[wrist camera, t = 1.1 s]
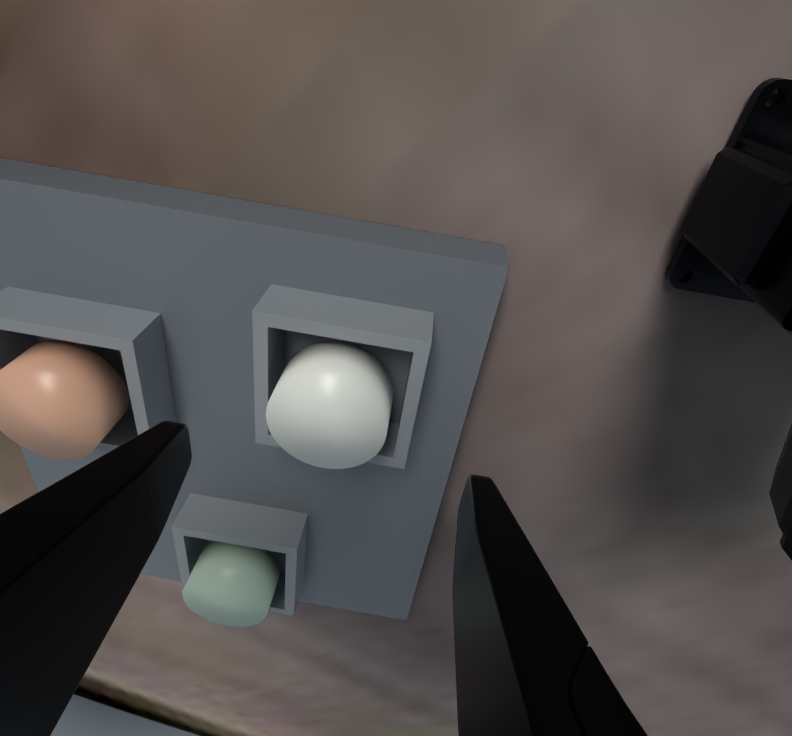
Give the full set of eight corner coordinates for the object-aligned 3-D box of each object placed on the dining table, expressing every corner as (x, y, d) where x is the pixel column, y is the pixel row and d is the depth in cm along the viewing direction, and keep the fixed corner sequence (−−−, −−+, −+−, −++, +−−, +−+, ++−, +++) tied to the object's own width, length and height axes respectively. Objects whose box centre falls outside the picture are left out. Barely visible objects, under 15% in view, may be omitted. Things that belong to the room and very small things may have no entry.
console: (504, 245, 18) (514, 294, 15) (409, 588, 31) (403, 656, 27) (-43, 150, 18) (-153, 177, 15) (86, 531, 31) (41, 592, 27)
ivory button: (401, 352, 17) (395, 387, 15) (385, 439, 19) (379, 477, 18) (283, 331, 17) (265, 364, 15) (282, 420, 19) (266, 458, 18)
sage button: (280, 548, 24) (267, 587, 22) (279, 594, 26) (267, 633, 24) (197, 533, 24) (177, 571, 22) (203, 581, 26) (186, 618, 24)
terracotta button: (118, 350, 18) (85, 382, 16) (136, 432, 20) (107, 468, 19) (9, 331, 18) (-36, 361, 16) (38, 415, 20) (2, 449, 19)
